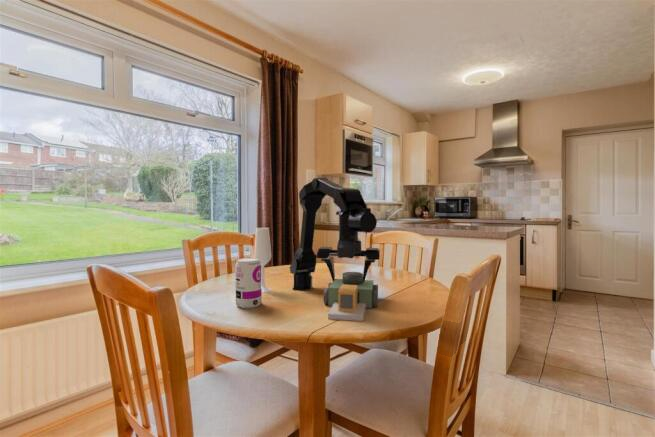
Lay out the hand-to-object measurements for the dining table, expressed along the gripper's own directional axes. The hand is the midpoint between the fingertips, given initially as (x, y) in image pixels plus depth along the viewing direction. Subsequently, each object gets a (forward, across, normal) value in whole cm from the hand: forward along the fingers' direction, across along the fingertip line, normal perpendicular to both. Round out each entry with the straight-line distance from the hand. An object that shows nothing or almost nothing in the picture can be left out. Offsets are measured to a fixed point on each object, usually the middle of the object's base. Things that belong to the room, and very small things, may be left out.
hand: (348, 281), depth 102 cm
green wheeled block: (+10, 0, +6) cm, 11 cm away
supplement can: (+10, -33, +2) cm, 35 cm away
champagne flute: (+10, -35, +20) cm, 41 cm away
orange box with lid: (+8, 0, 0) cm, 8 cm away
